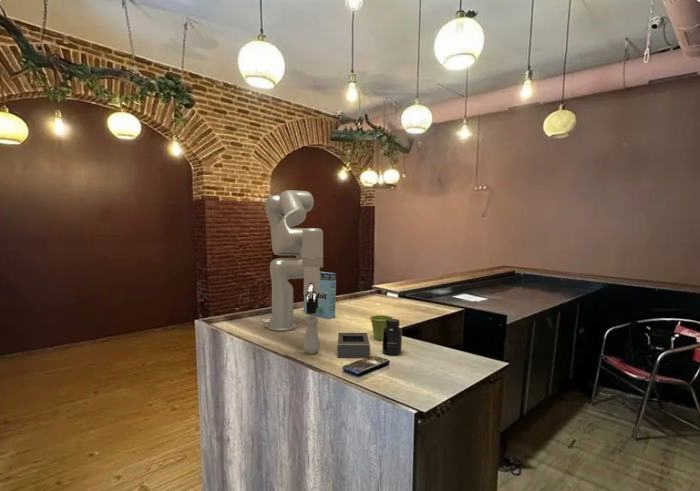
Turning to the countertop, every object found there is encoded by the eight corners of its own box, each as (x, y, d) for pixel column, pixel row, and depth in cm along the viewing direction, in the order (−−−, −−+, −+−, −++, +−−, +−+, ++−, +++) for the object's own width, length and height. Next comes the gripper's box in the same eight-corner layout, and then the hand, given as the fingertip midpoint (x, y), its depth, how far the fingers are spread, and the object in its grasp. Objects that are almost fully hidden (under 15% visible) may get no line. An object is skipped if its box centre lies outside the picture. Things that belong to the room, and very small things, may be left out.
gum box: (303, 313, 196) (303, 270, 195) (310, 311, 200) (310, 270, 199) (329, 319, 183) (329, 273, 182) (336, 317, 187) (336, 273, 186)
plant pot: (373, 342, 144) (373, 320, 144) (367, 336, 153) (367, 315, 153) (395, 341, 146) (396, 319, 146) (388, 335, 155) (388, 314, 155)
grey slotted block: (337, 357, 126) (337, 344, 126) (338, 344, 141) (338, 332, 141) (369, 357, 126) (369, 344, 126) (366, 344, 141) (366, 332, 141)
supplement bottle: (389, 357, 127) (389, 323, 127) (378, 351, 133) (379, 318, 133) (405, 354, 130) (405, 321, 130) (394, 349, 136) (394, 317, 136)
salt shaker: (322, 351, 133) (322, 315, 132) (315, 356, 127) (315, 319, 127) (307, 349, 135) (307, 314, 134) (300, 354, 129) (300, 317, 129)
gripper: (304, 261, 139) (304, 306, 139) (298, 264, 121) (299, 315, 121) (324, 261, 139) (324, 306, 139) (321, 264, 121) (321, 315, 122)
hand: (312, 310), depth 130 cm, fingers open, 9 cm apart
